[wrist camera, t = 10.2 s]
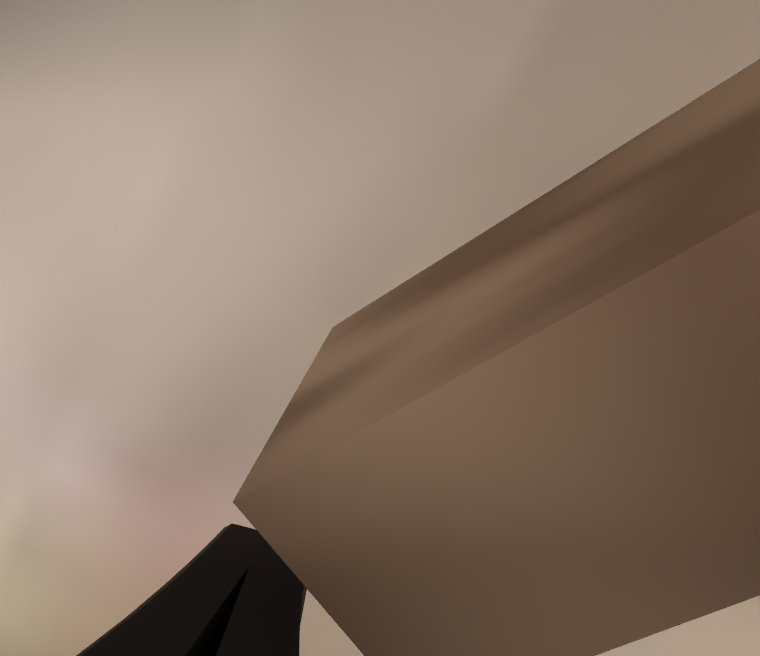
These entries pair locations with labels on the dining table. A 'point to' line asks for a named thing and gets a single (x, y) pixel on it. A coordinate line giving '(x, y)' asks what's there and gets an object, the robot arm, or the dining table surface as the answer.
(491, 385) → the slat
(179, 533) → the dining table surface
